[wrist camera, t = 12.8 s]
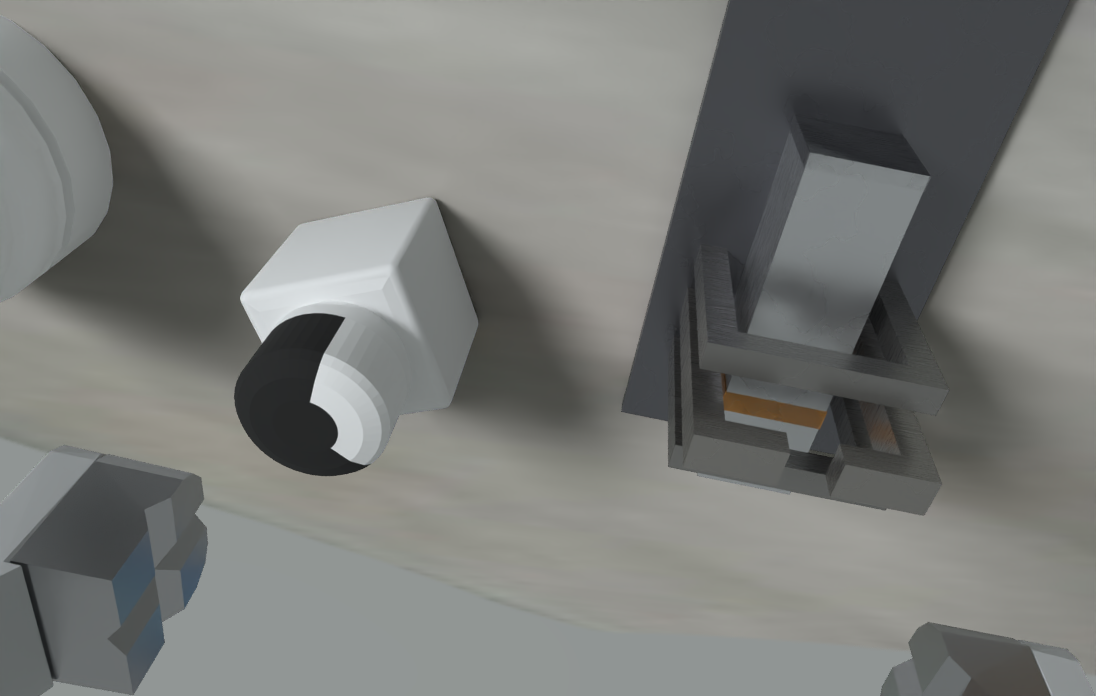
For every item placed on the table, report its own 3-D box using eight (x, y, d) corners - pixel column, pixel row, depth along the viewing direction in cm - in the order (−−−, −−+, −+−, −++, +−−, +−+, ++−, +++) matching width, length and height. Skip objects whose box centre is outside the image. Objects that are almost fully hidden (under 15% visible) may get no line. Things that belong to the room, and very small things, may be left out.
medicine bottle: (352, 345, 44) (261, 507, 34) (296, 222, 41) (177, 363, 31) (481, 324, 43) (425, 487, 33) (436, 193, 39) (357, 332, 29)
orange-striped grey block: (794, 113, 35) (809, 152, 31) (903, 135, 35) (931, 176, 31) (693, 417, 44) (695, 475, 40) (780, 435, 44) (790, 494, 40)
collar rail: (783, -209, 29) (838, -206, 20) (1128, -142, 29) (1350, -108, 20) (621, 404, 44) (609, 572, 35) (849, 450, 44) (899, 630, 35)
